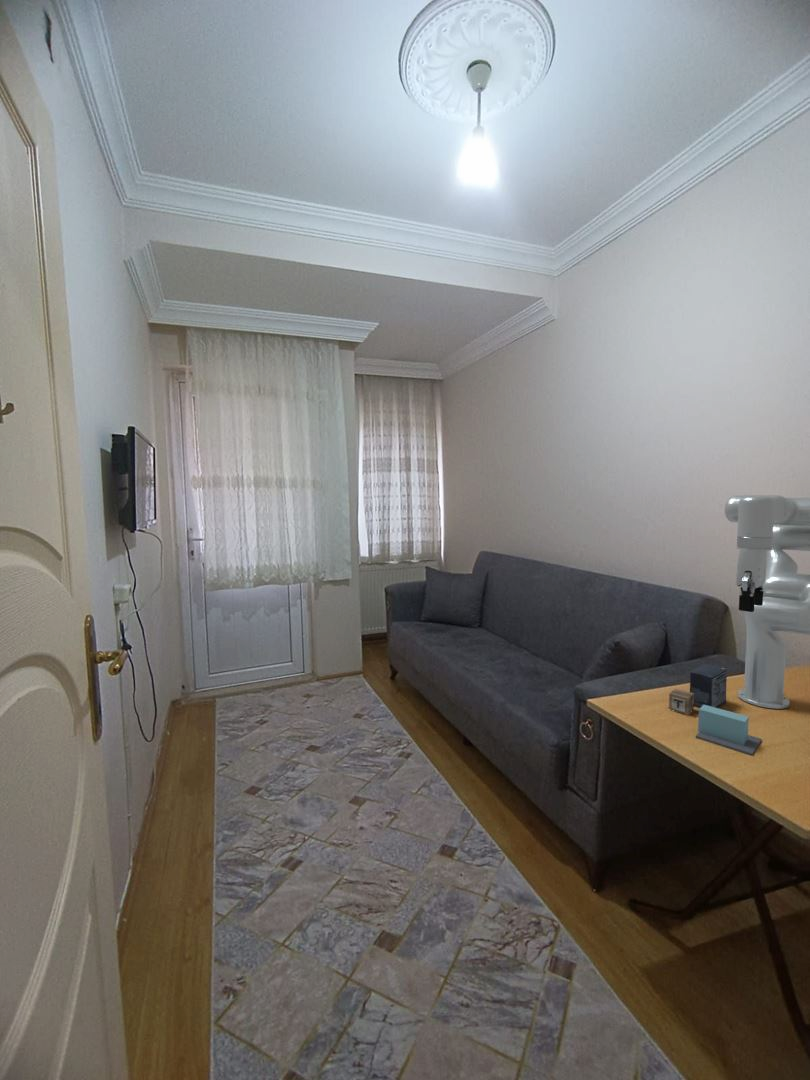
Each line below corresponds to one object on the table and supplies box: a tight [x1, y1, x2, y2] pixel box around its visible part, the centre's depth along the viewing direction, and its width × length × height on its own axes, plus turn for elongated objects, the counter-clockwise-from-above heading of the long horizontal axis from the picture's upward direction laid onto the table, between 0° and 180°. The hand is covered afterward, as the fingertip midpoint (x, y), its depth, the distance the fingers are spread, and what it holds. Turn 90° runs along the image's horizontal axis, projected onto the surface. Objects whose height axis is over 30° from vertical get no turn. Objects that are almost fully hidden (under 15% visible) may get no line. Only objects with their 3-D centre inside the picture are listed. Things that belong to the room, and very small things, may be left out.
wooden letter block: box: [668, 688, 695, 716], centre depth 139 cm, size 6×5×5 cm
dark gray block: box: [695, 731, 762, 756], centre depth 122 cm, size 10×12×1 cm
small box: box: [689, 663, 728, 709], centre depth 143 cm, size 11×6×10 cm, turn 126°
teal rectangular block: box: [697, 705, 750, 745], centre depth 123 cm, size 4×10×6 cm, turn 43°
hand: (750, 607), depth 127 cm, fingers open, 9 cm apart
